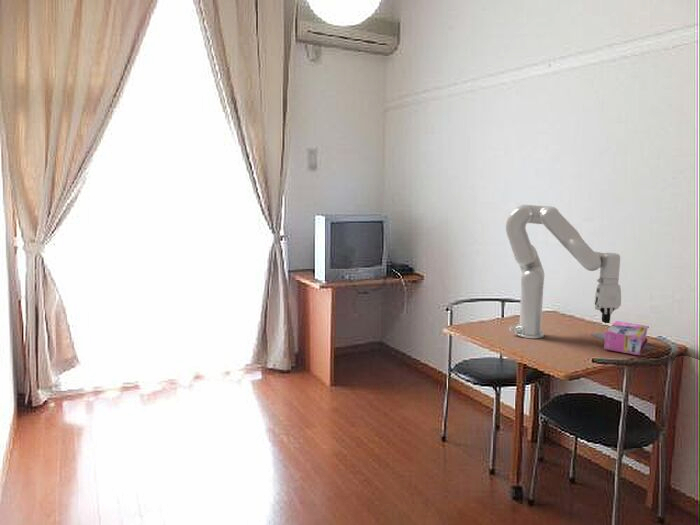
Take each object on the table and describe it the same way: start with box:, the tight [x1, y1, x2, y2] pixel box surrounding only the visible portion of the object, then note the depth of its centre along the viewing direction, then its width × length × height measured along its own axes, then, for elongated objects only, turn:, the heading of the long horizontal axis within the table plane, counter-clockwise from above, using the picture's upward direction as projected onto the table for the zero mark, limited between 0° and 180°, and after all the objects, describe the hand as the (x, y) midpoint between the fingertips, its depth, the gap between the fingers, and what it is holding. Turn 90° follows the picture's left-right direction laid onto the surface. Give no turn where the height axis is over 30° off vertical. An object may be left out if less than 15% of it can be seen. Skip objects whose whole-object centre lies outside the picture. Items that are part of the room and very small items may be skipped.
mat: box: [590, 332, 656, 351], centre depth 243 cm, size 14×24×1 cm, turn 10°
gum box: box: [603, 320, 650, 356], centre depth 235 cm, size 24×8×14 cm
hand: (605, 322), depth 241 cm, fingers closed
